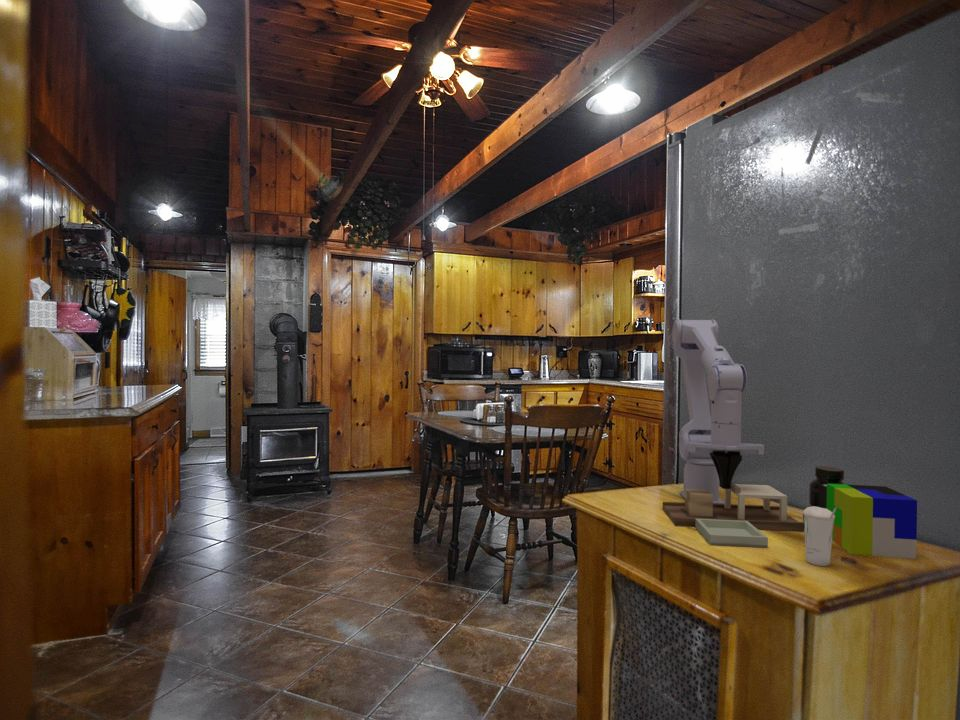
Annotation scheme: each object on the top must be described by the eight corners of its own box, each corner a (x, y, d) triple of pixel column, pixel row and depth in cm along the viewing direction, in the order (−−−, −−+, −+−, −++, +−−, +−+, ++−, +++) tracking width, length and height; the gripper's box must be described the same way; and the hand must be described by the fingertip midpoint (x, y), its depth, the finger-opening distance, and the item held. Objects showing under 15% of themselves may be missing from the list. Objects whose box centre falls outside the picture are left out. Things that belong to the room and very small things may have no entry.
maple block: (684, 509, 117) (685, 489, 116) (706, 510, 116) (706, 489, 116) (690, 515, 112) (690, 494, 112) (712, 516, 112) (712, 495, 112)
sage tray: (695, 527, 108) (695, 518, 108) (747, 529, 107) (747, 520, 107) (710, 544, 98) (710, 535, 98) (767, 547, 97) (767, 537, 97)
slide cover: (721, 507, 118) (722, 479, 118) (768, 508, 117) (768, 480, 117) (736, 519, 109) (737, 489, 109) (786, 521, 108) (787, 491, 108)
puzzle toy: (916, 559, 92) (917, 500, 92) (850, 554, 94) (851, 496, 94) (885, 539, 102) (885, 486, 102) (826, 535, 104) (826, 483, 104)
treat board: (662, 508, 121) (662, 501, 121) (779, 513, 118) (779, 506, 118) (675, 525, 109) (675, 517, 109) (805, 531, 106) (805, 523, 106)
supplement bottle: (803, 528, 108) (804, 468, 108) (813, 520, 113) (813, 463, 113) (844, 536, 103) (845, 473, 103) (852, 528, 108) (853, 468, 108)
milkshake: (823, 571, 87) (824, 508, 86) (795, 559, 92) (796, 499, 92) (845, 568, 88) (846, 506, 88) (816, 556, 93) (817, 498, 93)
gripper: (695, 424, 110) (694, 491, 110) (770, 426, 108) (769, 493, 109) (686, 419, 117) (685, 482, 117) (756, 421, 115) (755, 485, 116)
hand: (724, 487), depth 113 cm, fingers closed
